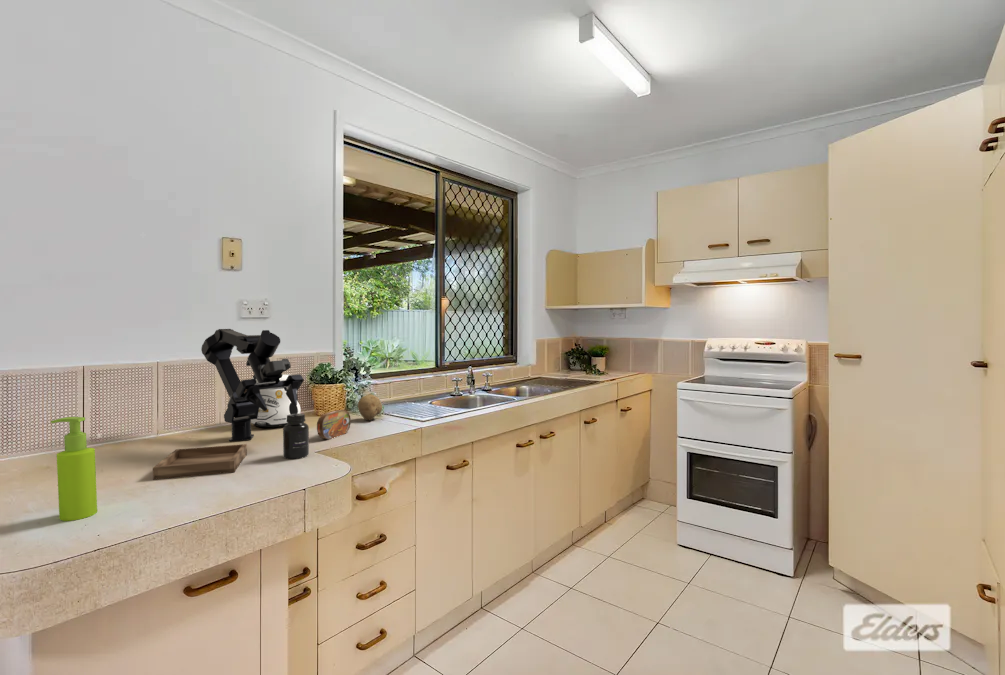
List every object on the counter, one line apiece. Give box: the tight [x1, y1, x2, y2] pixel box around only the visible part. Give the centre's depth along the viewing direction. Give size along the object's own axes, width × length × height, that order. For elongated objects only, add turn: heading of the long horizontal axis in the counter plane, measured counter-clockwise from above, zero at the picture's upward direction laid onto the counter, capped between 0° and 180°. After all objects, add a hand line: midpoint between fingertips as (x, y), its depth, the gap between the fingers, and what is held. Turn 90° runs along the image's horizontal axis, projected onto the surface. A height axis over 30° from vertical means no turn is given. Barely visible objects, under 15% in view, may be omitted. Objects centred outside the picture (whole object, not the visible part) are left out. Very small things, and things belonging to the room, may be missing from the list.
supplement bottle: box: [282, 413, 310, 460], centre depth 144 cm, size 7×7×12 cm
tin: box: [316, 409, 352, 440], centre depth 168 cm, size 15×3×8 cm, turn 161°
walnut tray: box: [152, 443, 248, 481], centre depth 135 cm, size 18×18×3 cm
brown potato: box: [357, 393, 383, 421], centre depth 194 cm, size 9×9×10 cm
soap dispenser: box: [49, 416, 98, 522], centre depth 101 cm, size 6×7×20 cm
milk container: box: [251, 374, 302, 428], centre depth 186 cm, size 17×17×18 cm
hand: (281, 407), depth 149 cm, fingers open, 9 cm apart
